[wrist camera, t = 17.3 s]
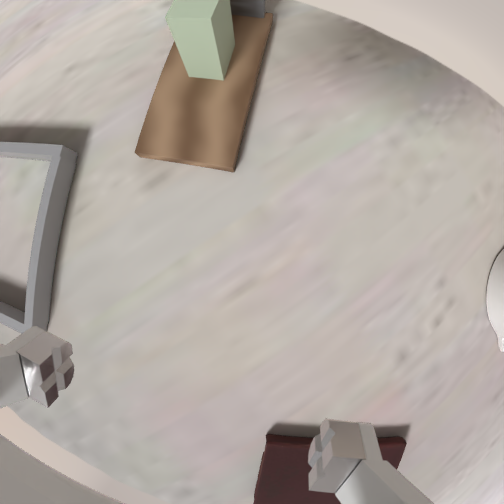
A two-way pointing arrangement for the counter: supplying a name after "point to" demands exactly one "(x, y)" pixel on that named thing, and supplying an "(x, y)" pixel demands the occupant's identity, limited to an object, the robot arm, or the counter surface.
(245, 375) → the counter surface
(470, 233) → the counter surface
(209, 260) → the counter surface
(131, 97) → the counter surface
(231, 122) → the bookend
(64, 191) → the gray square frame
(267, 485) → the book
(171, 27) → the sage green box
